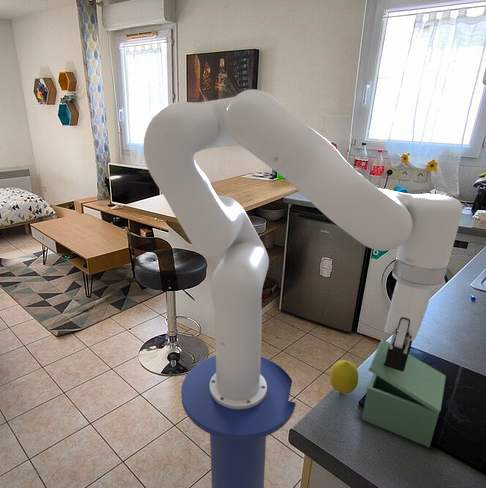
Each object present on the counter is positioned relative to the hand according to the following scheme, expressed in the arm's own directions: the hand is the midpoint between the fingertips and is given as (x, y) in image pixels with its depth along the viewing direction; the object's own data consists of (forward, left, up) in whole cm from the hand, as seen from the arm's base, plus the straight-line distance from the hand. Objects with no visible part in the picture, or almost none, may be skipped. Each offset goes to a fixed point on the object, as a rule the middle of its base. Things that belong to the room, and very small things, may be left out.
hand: (397, 358), depth 67 cm
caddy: (+2, +1, -12) cm, 13 cm away
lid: (+2, +1, -3) cm, 3 cm away
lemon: (-7, -5, -13) cm, 15 cm away
